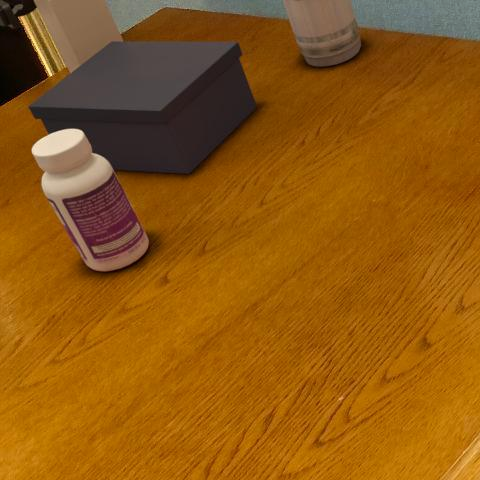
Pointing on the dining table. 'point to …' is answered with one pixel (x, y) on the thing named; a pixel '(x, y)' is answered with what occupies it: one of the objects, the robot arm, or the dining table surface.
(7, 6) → the robot arm
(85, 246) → the pill bottle
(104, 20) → the cream box
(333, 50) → the camera lens
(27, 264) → the dining table surface
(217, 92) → the storage box
